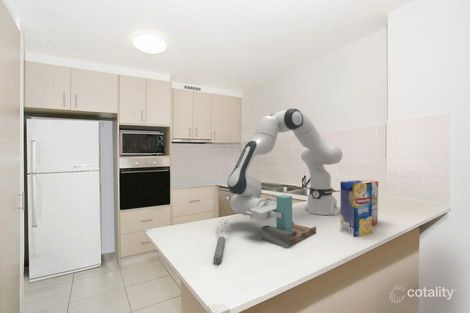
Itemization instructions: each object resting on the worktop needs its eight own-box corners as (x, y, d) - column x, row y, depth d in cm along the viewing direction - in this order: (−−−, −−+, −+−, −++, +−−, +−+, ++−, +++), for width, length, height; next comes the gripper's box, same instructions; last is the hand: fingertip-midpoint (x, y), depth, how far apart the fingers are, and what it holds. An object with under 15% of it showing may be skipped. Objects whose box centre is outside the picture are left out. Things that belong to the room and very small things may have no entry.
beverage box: (372, 233, 96) (372, 182, 96) (354, 237, 92) (354, 183, 92) (357, 228, 103) (357, 180, 102) (340, 231, 98) (340, 181, 98)
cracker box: (367, 229, 101) (367, 183, 101) (353, 226, 106) (353, 181, 105) (378, 223, 110) (379, 180, 110) (365, 220, 114) (365, 179, 114)
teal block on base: (281, 230, 95) (281, 194, 95) (296, 234, 90) (296, 196, 90) (272, 234, 91) (271, 196, 90) (287, 239, 86) (286, 198, 85)
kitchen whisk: (206, 268, 68) (206, 247, 68) (218, 230, 101) (218, 217, 101) (226, 268, 68) (226, 247, 67) (232, 231, 101) (232, 217, 101)
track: (291, 226, 106) (291, 215, 106) (316, 232, 97) (316, 221, 97) (261, 239, 90) (261, 227, 90) (287, 248, 81) (287, 234, 81)
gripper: (243, 205, 92) (270, 211, 82) (272, 198, 107) (299, 202, 97) (243, 220, 92) (270, 228, 83) (272, 211, 107) (299, 217, 97)
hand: (286, 214), depth 90 cm, fingers closed on teal block on base, 4 cm apart
